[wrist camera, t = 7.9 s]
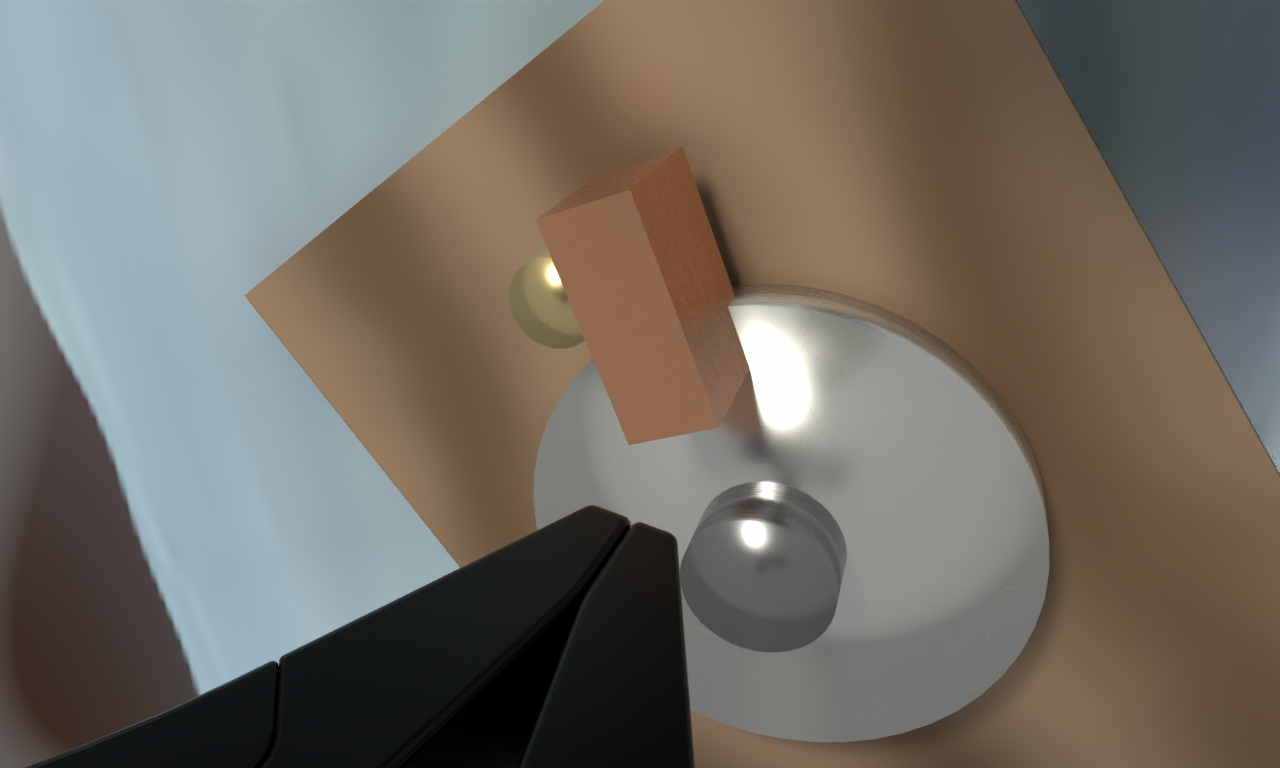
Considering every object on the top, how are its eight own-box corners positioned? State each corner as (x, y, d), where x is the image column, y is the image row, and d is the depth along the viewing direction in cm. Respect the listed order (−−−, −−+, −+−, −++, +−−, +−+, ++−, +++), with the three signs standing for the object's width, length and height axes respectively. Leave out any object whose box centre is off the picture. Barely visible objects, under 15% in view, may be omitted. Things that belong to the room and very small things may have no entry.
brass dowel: (614, 195, 20) (559, 240, 17) (663, 268, 20) (616, 321, 18) (551, 238, 21) (490, 287, 18) (599, 307, 21) (545, 364, 19)
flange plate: (1096, 690, 21) (1113, 829, 18) (648, 717, 26) (601, 832, 23) (932, 57, 17) (919, 96, 14) (426, 228, 21) (329, 285, 18)
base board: (892, -224, 16) (886, -231, 15) (1423, 731, 21) (1441, 767, 20) (269, 281, 25) (244, 295, 24) (735, 876, 30) (728, 905, 29)
